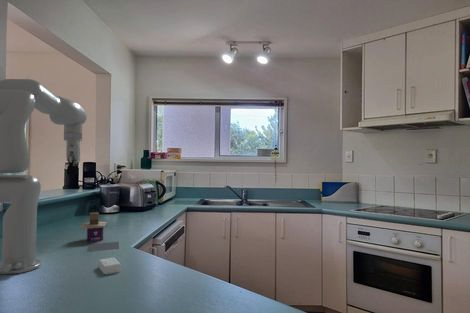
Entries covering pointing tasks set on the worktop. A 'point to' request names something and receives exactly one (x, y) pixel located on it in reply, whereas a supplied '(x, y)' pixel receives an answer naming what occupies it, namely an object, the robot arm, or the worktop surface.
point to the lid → (94, 221)
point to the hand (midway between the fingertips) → (72, 174)
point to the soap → (109, 265)
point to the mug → (94, 234)
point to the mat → (103, 246)
